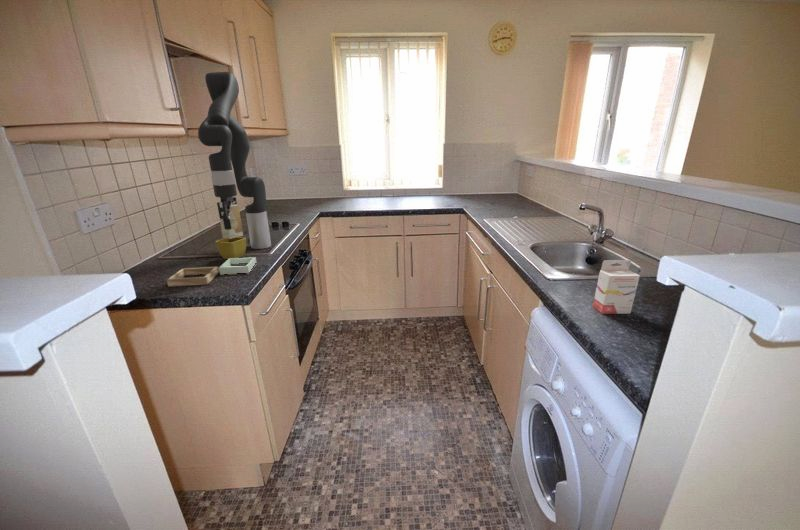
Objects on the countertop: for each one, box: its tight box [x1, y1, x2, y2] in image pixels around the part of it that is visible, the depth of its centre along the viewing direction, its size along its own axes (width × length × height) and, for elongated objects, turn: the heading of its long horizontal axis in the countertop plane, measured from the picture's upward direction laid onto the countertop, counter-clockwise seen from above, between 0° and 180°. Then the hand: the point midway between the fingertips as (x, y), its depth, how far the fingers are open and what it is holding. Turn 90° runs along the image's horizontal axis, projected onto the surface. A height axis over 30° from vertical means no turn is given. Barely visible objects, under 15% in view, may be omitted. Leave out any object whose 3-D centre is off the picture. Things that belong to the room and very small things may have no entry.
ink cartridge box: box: [592, 259, 641, 315], centre depth 96 cm, size 9×5×15 cm, turn 92°
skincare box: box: [217, 204, 244, 239], centre depth 130 cm, size 6×4×12 cm
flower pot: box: [214, 236, 247, 260], centre depth 147 cm, size 9×9×9 cm
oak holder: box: [166, 266, 220, 287], centre depth 126 cm, size 12×13×2 cm
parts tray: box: [218, 256, 257, 276], centre depth 136 cm, size 12×11×3 cm
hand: (231, 226), depth 131 cm, fingers closed on skincare box, 7 cm apart
